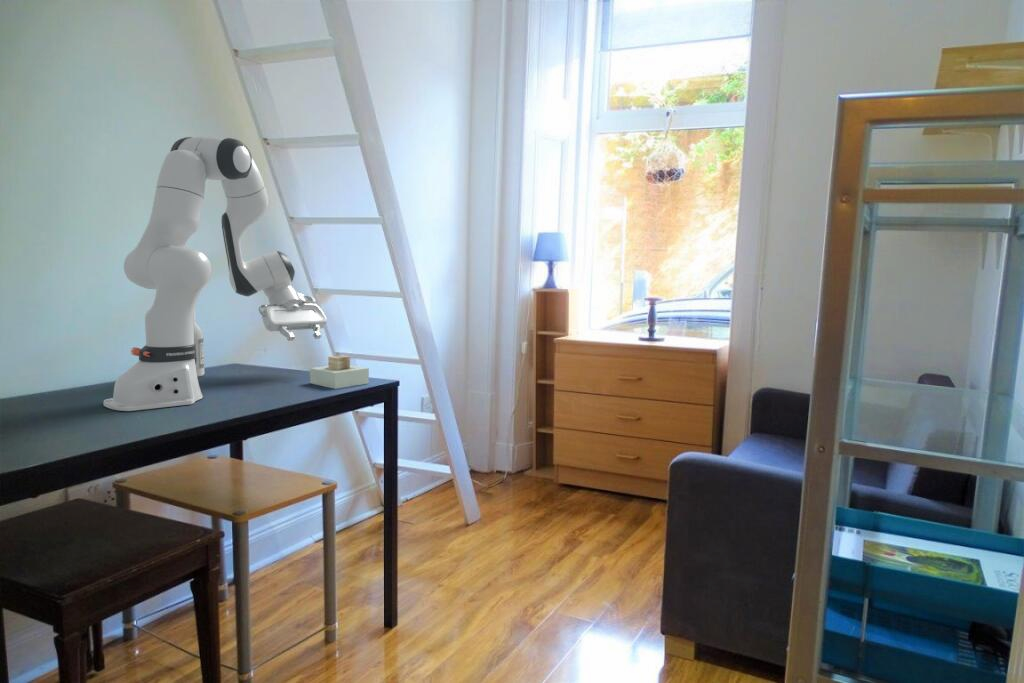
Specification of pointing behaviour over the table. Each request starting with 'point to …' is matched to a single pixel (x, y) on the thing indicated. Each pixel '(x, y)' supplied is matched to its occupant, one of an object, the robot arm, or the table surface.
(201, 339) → the bath foam
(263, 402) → the table surface
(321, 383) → the socket block
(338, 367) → the birch peg
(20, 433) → the table surface
